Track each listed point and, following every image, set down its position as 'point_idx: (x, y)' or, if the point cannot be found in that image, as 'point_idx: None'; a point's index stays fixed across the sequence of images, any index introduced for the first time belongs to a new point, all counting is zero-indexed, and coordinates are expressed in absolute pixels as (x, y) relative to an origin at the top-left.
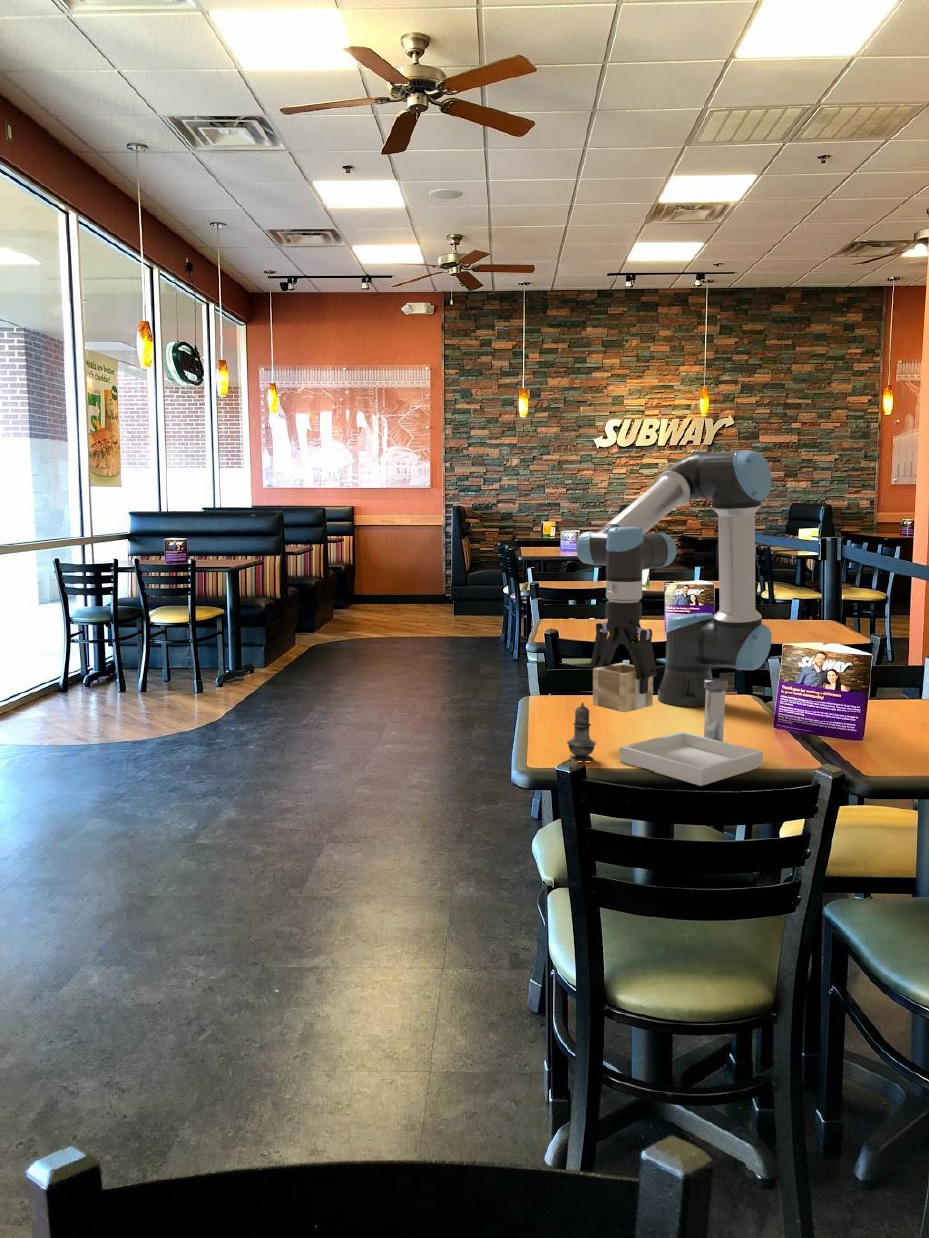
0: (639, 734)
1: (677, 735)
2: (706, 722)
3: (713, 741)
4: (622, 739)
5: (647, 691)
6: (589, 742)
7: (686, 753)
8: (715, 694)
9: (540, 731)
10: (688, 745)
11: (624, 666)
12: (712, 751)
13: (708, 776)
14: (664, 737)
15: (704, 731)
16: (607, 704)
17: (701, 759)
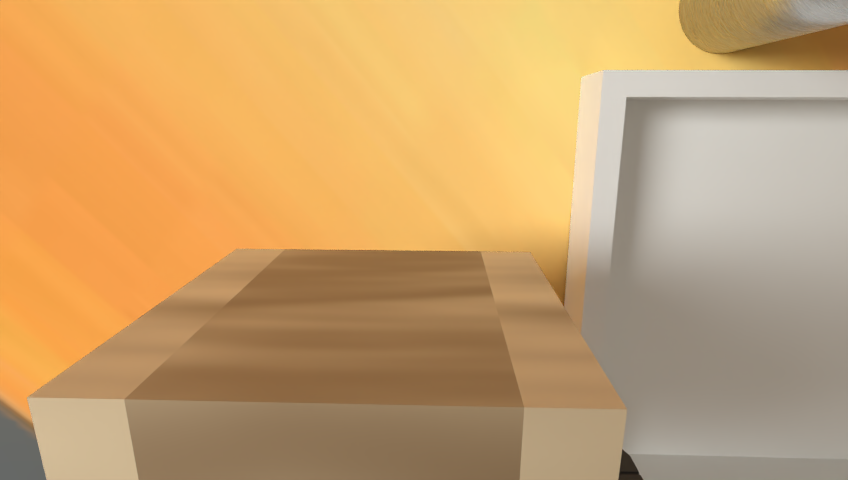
0: (319, 72)
1: (620, 143)
2: (804, 26)
3: (828, 97)
4: (336, 209)
5: (625, 456)
6: None
7: (702, 210)
8: None
9: (48, 380)
10: (643, 99)
11: (197, 472)
12: (786, 99)
13: None
14: (607, 241)
15: (746, 27)
16: None
17: (800, 236)
